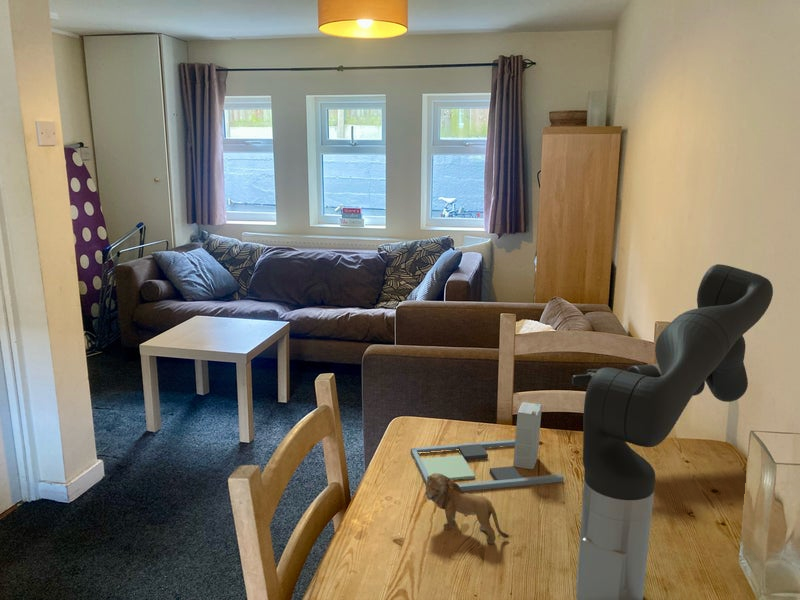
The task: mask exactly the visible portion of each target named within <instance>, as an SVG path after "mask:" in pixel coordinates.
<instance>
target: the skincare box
mask: <svg viewBox="0 0 800 600" xmlns="http://www.w3.org/2000/svg"><path fill="white" fill-rule="evenodd" d="M542 406H543V405H542V404H540V403H531V402H524V401H523V402H521V403H520V407H519V409H518V410H517V413H516V414H517V415H516V427H515V438H514V440H515V446H514V450H513V451H514V454H513V464H512V465H513V466H514V467H515V468H520V469H521V468H522V469H527V470H534V469H535V465H536V463H537V460H538V457H539V446H540V445H539V444H540V435H541V434H540V433H541V432H540V431H541V420H542V419H541V418H542V410H543V409H542V408H543V407H542Z"/></svg>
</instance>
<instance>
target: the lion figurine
mask: <svg viewBox="0 0 800 600" xmlns="http://www.w3.org/2000/svg"><path fill="white" fill-rule="evenodd" d="M458 484H459V483H457V482H456V481H455V480H450V478H448V477H446V476H444V475H443V474H439V473H437V474H436V473H434V474H432V475H430V476H427V483H426V484H425V491H424V494H425V496H426V499H427V500H428V501H432V502H433V503H435V504H436V506H437V508H439V509H442V510H444V513H445V518H446V522H447V523H444V524H443V528H444V529H445V530H450V529H452V527H453V525H454V522H453V521H455V519H456V513H459V514H462V515H465V516H473V515H475V517H476V519H477V520H478V523H479V524H480V527H479V529H480V530H481V531H485V532H487V534H488V535H489V537H487V538H486V542H487V544H490V545H492V544H494V543H495V542H496V534H495V533H496V532H495V530H494V528H493V527H492V526H491V523H490V518H491V516H492V517H493V521H494V526H495V528H496V531H497V532H498V534H499V535H500V536H501V537H502V538H503V539H508V538H509V537H510V536H509V534H507V533H505V532H503V531H502V530H501V528H500V525H499V520H498V517H497V513H496V512H497V511H495V508H494V506H493V503H492V501H491V500H490V499H489V498H488V497H486V496H484V495H475V494H471V493H468V492H467V491H462V490H461V488H460V487H459V485H458Z"/></svg>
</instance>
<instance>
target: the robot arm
mask: <svg viewBox="0 0 800 600" xmlns="http://www.w3.org/2000/svg"><path fill="white" fill-rule="evenodd" d="M696 293H697V295H696V296H697V297H696V303H697V308H693V309H690V310H687V311H684V312H682V313H681V314H678V316H677V317H675V318H674V319H673V320H672V321H671V322H670V323H669V324H668V325H667V326H666V327H664V329H663V330H662V331H661V332H660V334H659V335H658V337H657V339H656V341H655V346H654V347H655V349H654V350H655V352H654V353H655V359H656V361H657V362H656V363H652V364H642V365H640V364H639V365H631V366H629V367H628V368H627V369H626V370H624V369H619V368H614V367H602V368H593V369H592V368H590V369H586V373H585V374H574V375H572V377H571V385H573V386H574V387H580V386H587V388H586V391H585V396H584V403H583V427H582V428H583V431H582V432H583V434H582V436H583V437H582V438H583V440H582V441H583V442H582V464H583V468H584V477H583V492H582V502H581V517H580V528H579V529H580V530H579V543H578V544H579V545H578V554H577V555H578V556H577V557H578V558H577V570H576V583H575V584H576V585H575V587H576V595H575V596H576V597H575V599H576V600H644V594H645V583H646V576H647V575H646V573H647V563H648V554H649V545H650V544H649V543H650V534H651V533H650V532H651V522H652V516H653V515H652V513H653V506H654V504H653V503H654V497H655V485H656V473H655V470H654V467H653V466H652V464H650V462H648V461H647V460H646V459H645V458H644V457H643V456H642V455H640V454H638V453H637V452H636V451H635V450H634V449H633V448H631V446H630V445H629V444H632V445H635V446H638V447H643V448H654V447H656V446H657V447H658V445H660V444H662V442H664V441H665V439H666V438H667V437H668V436H669V435H670V433H671V432H672V430H673V428H674V427H675V425H676V424H677V422H678V421H679V419H680V417H681V415H682V414H683V412H684V410H685V409H686V407H687V406H688V404H689V402H690V401H691V399H692V398H693V397H694V396H698V395H700V394H701V393H703V391H704V389H705V385H707V386H708V389H709V391H710V393H711V395H712V396H713V397H714V398H715V399H717V400H719V401H721V402H725V403H731V402H734V401H735V402H736V401H737V400H740V399H741V398H742V397H743V396H744V395H745V394H746V392H747V390H748V385H749V381H748V380H749V379H748V375H747V371H746V369H747V368H746V367H745V362H744V359H745V356H746V355H745V354H746V345H747V344H746V341H745V340H746V339H745V337H744V334H745V333H747V332H748V331H749V330H750V329H752V327H754V326H755V325H756V324H757V323H758V322H759V321H760V320H761V318H763V316H764V315H765V313H766V312H767V310H768V308H769V307H770V305H771V302H772V300H773V295H774V289H773V284H772V282H771V281H770V279H768V278H767V277H765V276H763V275H761V274H758V273H755V272H752V271H747V270H744V269H741V268H738V267H734V266H731V265H727V264H718V263H717V264H715V265H714V264H713V265H712V266H710V267H709V268H708V269H707V271H706V272H705V273H704V275H703V276H702V279H701V281H700V283H699V286H698V289H697V292H696Z"/></svg>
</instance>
